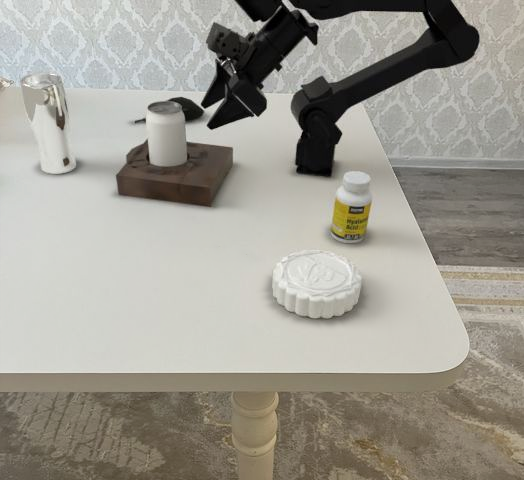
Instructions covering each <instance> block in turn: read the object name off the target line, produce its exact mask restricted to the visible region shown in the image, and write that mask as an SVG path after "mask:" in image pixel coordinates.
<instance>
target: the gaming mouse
mask: <svg viewBox="0 0 524 480" xmlns="http://www.w3.org/2000/svg"><path fill="white" fill-rule="evenodd" d="M166 101H171V102H176V103H178V104H180V105H181V106H182V109H181V110H182V112H183V113H184V116H185V123H186V122H192V121H196V120H198V119H201V117H203V115H204V114H205V109H204V108H203V107H202V106H199V105H198V104H197V103H196V102H195V101H193V100H192V99H190V98H188V97H183V96H176V97H171V98H169V99H166ZM140 122H146V117H143V118H142V119H137V120H134V123H135V124H136V123H140Z"/></svg>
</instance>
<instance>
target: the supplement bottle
mask: <svg viewBox="0 0 524 480" xmlns="http://www.w3.org/2000/svg"><path fill="white" fill-rule="evenodd" d="M371 181H372V178H371V176H370V175H369V174H367V173H366V172H363V171H359V170H358V171H357V170H352V171H347V172H345V173H344V174H343V178H342V185H341V186H340V187H338V189H337V190H336V193H335V199H334V204H333V205H334V206H333V213H332V219H331V227H330V234H331V237H333V239H335V240H336V241H338V242H340V243H343V244H344V243H345V244H357V243H360V242H361V241H363V240H364V239H365V236H366V233H367V227H368V223H369V217H370V213H371V212H370V211H371V207H372V202H373V194H372V193H373V192H371V189H370V187H371Z"/></svg>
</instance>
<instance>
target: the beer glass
mask: <svg viewBox="0 0 524 480" xmlns="http://www.w3.org/2000/svg"><path fill="white" fill-rule="evenodd" d="M19 84H20V90H21V96H22V103H23V108H24V112H25V115H26V118H27V121H28V123H29V126H30V129H31V131H32V133H33V135H34V138H35V140H36V143H37V146H38V149H39V156H40V157H39V158H40V169H41V170H42V171H43V172H44V173H47V174H51V175H61V174H66V173H69V172H72V171H73V170H75V169H76V168H77V162H76V159H75V157H74V154H73V150H72V147H71V139H70V138H71V137H70V136H71V135H70V111H69V109H70V108H69V103H68V98H67V94H66V91H65V86H64V83H63V78H62V77H61V75H60V74H57V73H52V72H36V73H30V74H27V75H23V76H22V77H21V78H20V80H19Z"/></svg>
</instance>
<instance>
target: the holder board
mask: <svg viewBox="0 0 524 480" xmlns="http://www.w3.org/2000/svg"><path fill="white" fill-rule="evenodd" d="M186 145H187V162H185V163H183V164H181V165H177V166H168V167H164V166H156V165H154V164H151V163H150V157H149V147H148V137H147V138H146V139H145V140H144V141H143V143H141V144H138V145H137V146H135V147H132V148H131V149H130V150H129V151H128V152H127V154H126V155H125V164H124V165H123V166H122V168H121V169H120V170H119V171H118V172H117V173H116V174H115V179H116V186H117V191H118V192H117V193H118V195H120V196H127V197H135V198H141V199H148V200H157V201H165V202H170V203H171V202H172V203H179V204H187V205H192V206H201V207H207V208H211V207H212V205H213V203H214V201H215V199H216V197H217V196H218V195H219V192H220V190H221V188H222V187H223V185H224V183H225V181H226V179H227V177H228V175H229V173H230V172H231V170H232V168H233V167H234V147H233V146H225V145H216V144H208V143H201V142H194V141H193V142H191V141H188V140H186Z"/></svg>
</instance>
